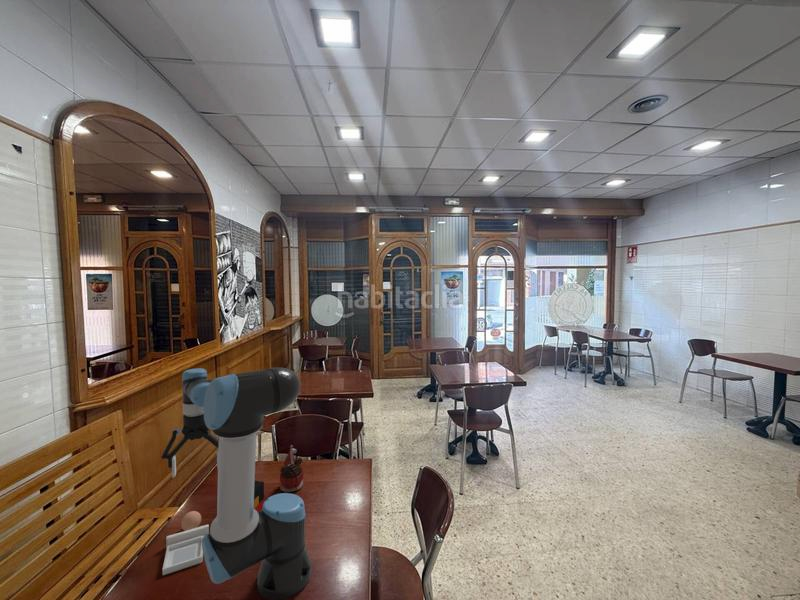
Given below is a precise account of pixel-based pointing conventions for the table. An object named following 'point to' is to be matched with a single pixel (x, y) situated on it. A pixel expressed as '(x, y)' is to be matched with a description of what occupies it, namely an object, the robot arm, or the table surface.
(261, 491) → the puzzle toy
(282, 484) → the cake
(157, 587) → the table surface
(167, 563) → the light gray square tray
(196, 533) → the low wall
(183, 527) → the ball
